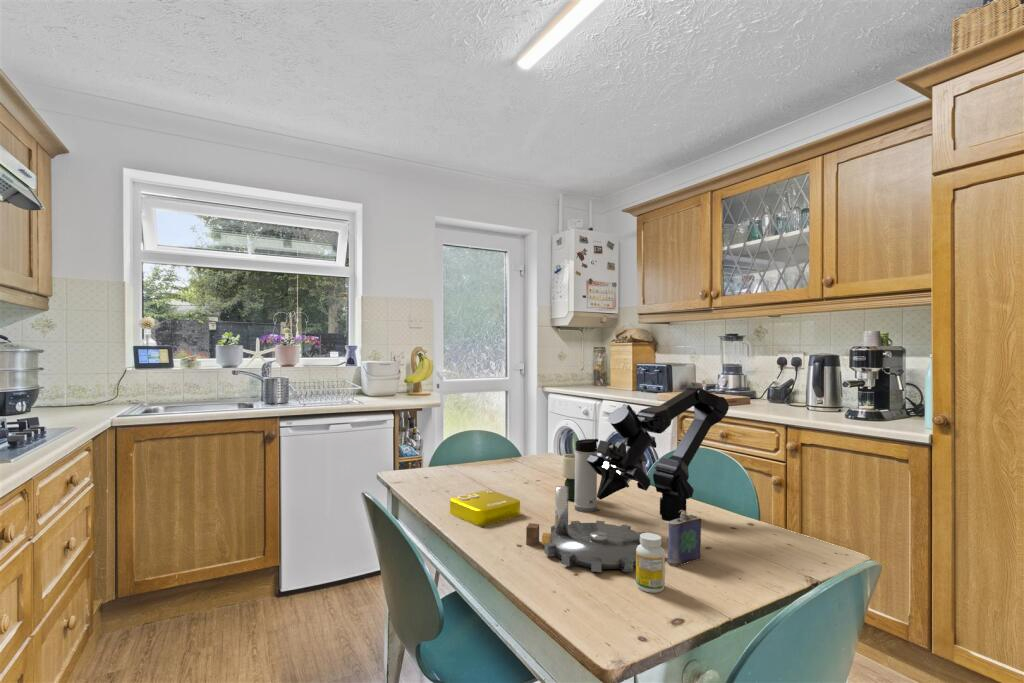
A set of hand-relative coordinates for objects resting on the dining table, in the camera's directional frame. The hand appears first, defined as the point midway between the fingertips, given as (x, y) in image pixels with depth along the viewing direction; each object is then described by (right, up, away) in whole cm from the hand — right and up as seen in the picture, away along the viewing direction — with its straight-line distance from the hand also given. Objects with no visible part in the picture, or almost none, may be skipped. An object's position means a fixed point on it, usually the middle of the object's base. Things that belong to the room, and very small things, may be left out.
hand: (598, 498), depth 125 cm
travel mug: (0, -9, +20) cm, 22 cm away
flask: (+16, -9, -16) cm, 24 cm away
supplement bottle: (+5, -8, -28) cm, 30 cm away
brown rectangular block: (-17, -8, -7) cm, 20 cm away
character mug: (-3, -10, +30) cm, 31 cm away
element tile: (-29, -9, +14) cm, 34 cm away
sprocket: (-2, -8, -11) cm, 14 cm away
